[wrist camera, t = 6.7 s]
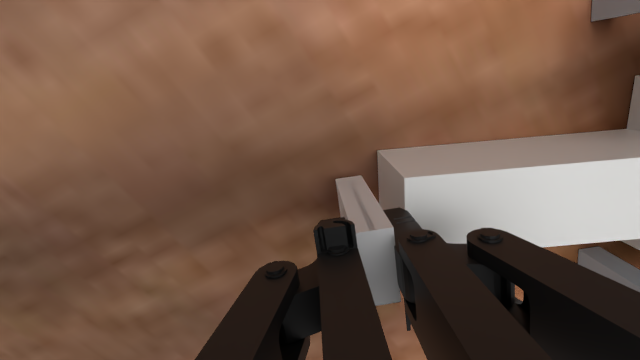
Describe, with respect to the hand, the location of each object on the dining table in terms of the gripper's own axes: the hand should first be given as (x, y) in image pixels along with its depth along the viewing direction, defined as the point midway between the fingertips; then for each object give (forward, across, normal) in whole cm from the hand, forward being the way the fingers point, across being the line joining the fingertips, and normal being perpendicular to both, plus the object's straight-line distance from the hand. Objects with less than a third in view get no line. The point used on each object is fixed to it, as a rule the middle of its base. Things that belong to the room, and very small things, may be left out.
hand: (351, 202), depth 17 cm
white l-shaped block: (+2, +10, 0) cm, 10 cm away
